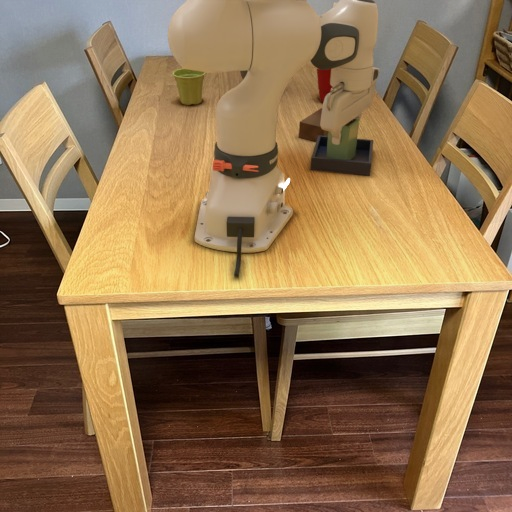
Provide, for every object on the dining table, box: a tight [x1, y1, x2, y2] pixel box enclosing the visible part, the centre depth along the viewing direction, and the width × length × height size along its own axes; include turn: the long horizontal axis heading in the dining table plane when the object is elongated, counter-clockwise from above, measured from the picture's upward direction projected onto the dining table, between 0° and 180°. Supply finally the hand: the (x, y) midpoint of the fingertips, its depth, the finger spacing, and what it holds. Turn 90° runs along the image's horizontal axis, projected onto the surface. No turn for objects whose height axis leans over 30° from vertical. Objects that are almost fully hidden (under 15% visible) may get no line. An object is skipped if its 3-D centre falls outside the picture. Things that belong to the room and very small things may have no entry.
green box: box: [326, 119, 360, 160], centre depth 128 cm, size 10×5×10 cm
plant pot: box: [172, 67, 206, 106], centre depth 161 cm, size 9×9×9 cm
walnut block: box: [298, 107, 328, 143], centre depth 143 cm, size 7×12×4 cm, turn 147°
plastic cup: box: [316, 69, 332, 103], centre depth 162 cm, size 11×11×12 cm
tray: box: [309, 135, 374, 177], centre depth 130 cm, size 13×13×3 cm
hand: (344, 137), depth 127 cm, fingers open, 7 cm apart
